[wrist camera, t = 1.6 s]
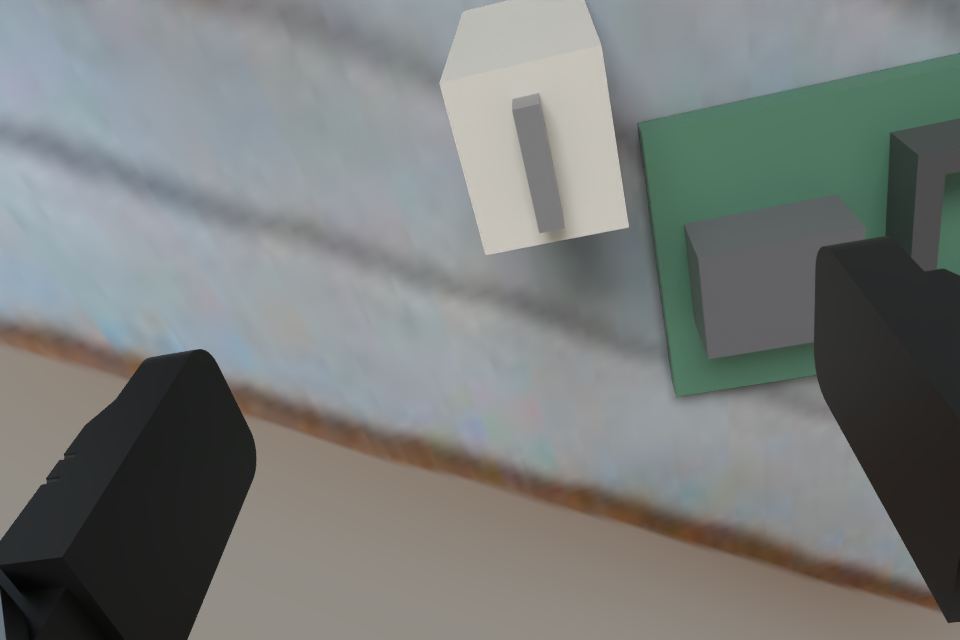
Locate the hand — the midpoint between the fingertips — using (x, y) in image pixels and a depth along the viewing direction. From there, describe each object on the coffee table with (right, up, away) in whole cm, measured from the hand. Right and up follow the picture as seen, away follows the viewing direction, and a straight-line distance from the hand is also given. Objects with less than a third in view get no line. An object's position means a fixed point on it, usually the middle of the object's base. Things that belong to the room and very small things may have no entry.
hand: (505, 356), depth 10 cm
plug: (+1, +9, +14) cm, 17 cm away
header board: (+14, +4, +16) cm, 22 cm away
